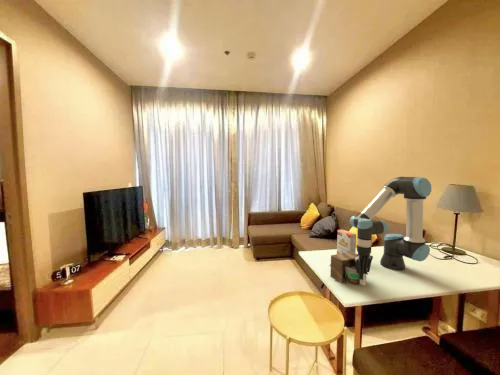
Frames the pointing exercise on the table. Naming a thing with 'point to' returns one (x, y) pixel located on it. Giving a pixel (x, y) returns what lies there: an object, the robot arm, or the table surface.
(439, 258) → the table surface
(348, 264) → the walnut shelf
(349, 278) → the food container
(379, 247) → the table surface
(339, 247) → the cracker box
